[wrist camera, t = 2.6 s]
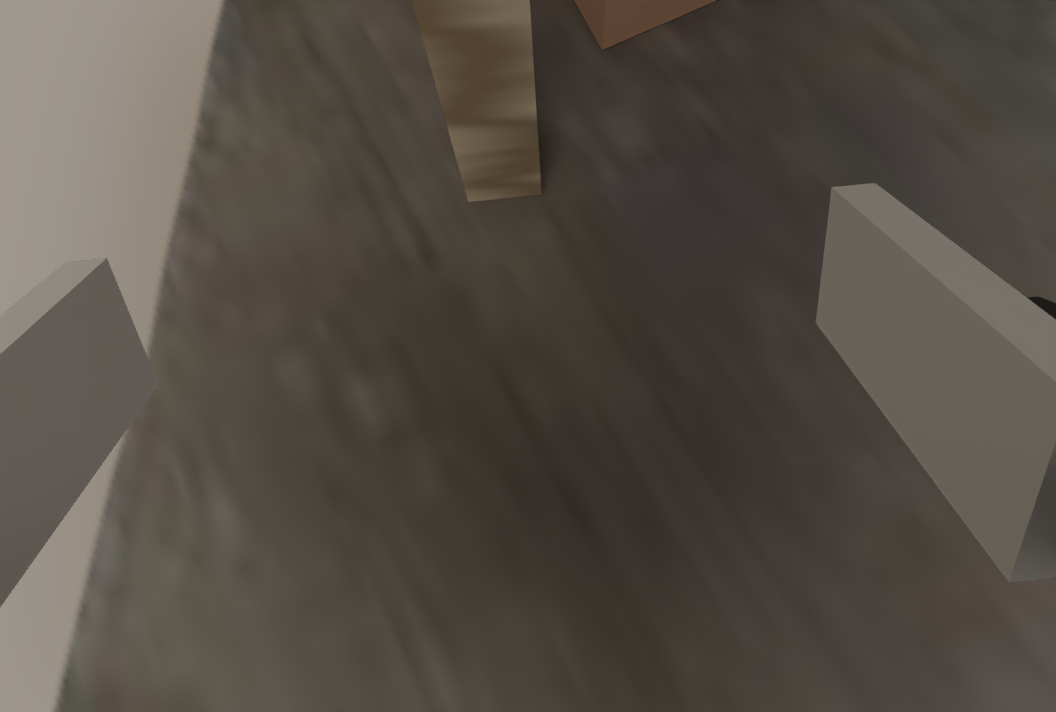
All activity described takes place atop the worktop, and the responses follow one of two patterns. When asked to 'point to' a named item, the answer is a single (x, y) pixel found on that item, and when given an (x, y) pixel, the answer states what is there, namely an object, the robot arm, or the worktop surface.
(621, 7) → the orange-brown square frame
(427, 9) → the beige tall square post
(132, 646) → the worktop surface
